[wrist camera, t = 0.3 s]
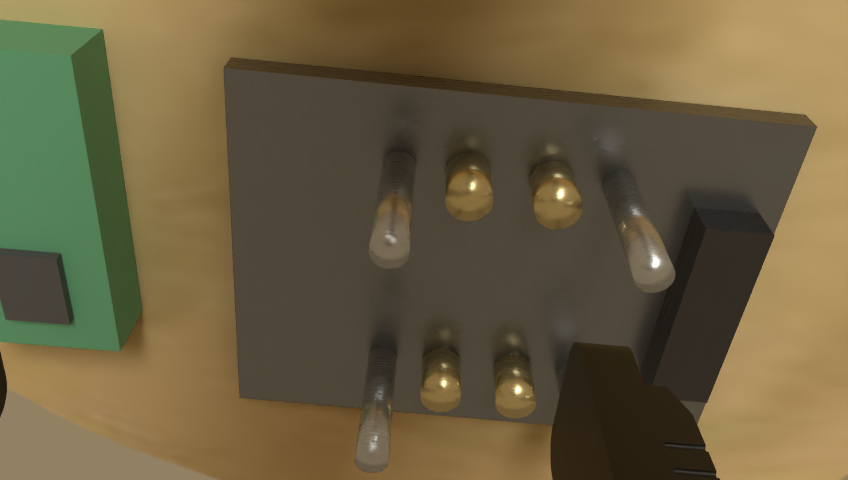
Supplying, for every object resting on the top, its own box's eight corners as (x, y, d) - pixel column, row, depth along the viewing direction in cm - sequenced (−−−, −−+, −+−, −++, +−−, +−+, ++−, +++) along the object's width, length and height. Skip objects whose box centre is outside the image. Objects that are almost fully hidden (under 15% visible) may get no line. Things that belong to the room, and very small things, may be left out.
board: (-57, 10, 26) (-119, 43, 23) (106, 25, 26) (65, 59, 23) (14, 294, 32) (-27, 346, 30) (145, 304, 33) (116, 358, 30)
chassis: (231, 57, 26) (173, 138, 21) (805, 115, 27) (897, 208, 21) (244, 381, 34) (206, 502, 29) (685, 420, 35) (730, 545, 29)
